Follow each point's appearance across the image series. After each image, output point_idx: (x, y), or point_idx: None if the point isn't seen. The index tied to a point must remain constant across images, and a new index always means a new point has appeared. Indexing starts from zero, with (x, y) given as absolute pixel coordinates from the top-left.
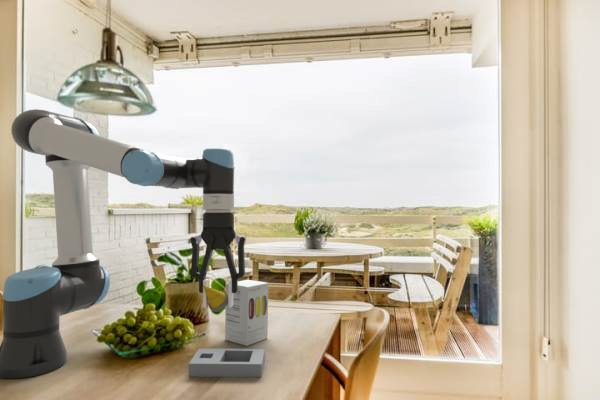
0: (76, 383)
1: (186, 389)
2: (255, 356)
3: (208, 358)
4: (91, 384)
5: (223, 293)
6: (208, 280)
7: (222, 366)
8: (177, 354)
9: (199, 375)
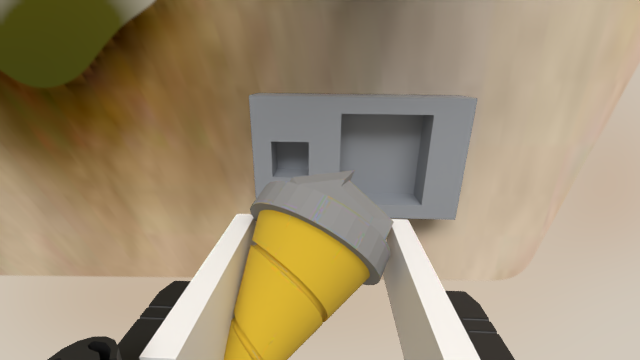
0: (35, 233)
1: None
2: (440, 165)
3: None
4: (70, 237)
5: (353, 278)
6: (187, 348)
7: None
8: (172, 40)
9: None
